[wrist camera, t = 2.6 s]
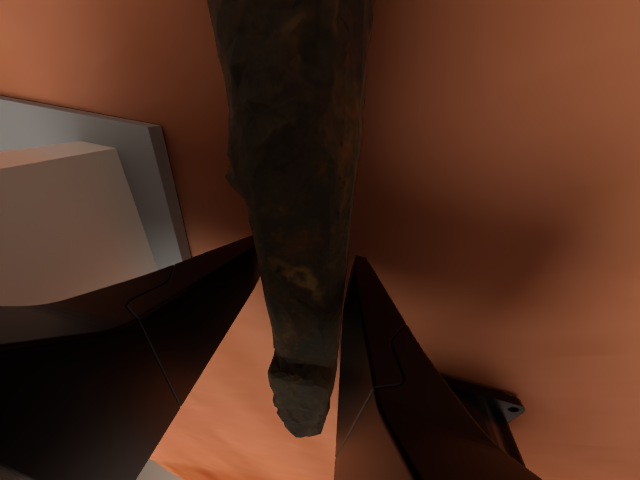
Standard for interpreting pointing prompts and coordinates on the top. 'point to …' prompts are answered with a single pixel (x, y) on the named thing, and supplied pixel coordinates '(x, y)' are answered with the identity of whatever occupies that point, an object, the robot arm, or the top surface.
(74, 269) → the tile
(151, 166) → the mat
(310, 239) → the hand tool
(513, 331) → the top surface
